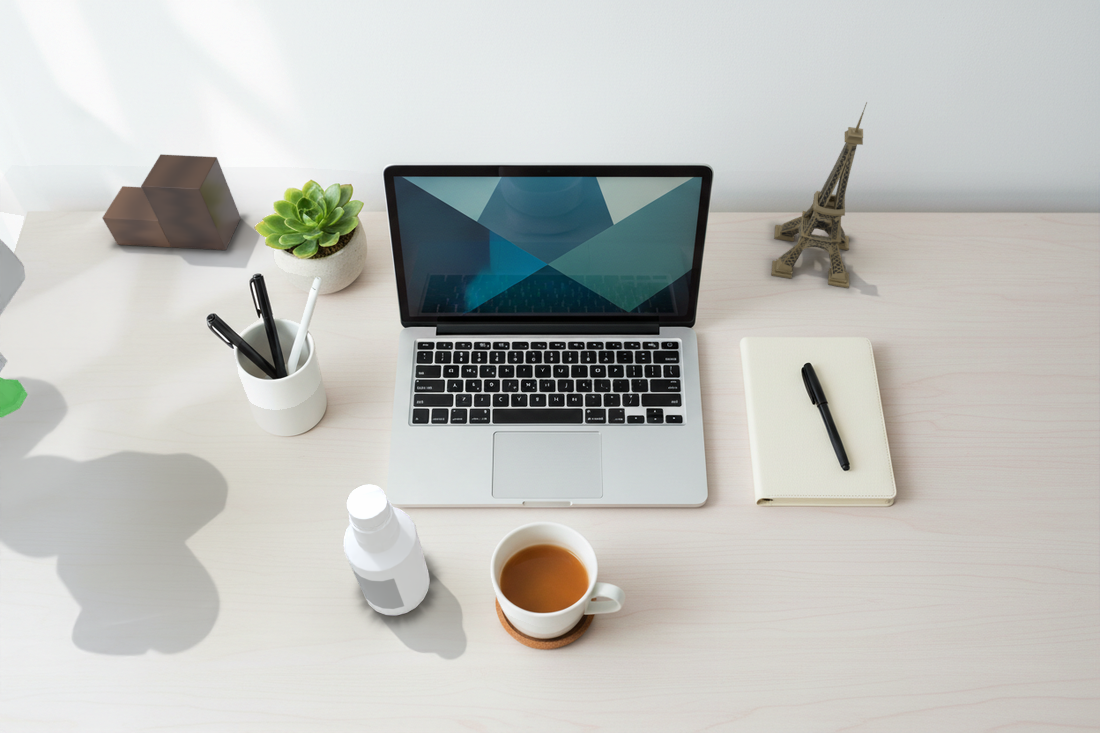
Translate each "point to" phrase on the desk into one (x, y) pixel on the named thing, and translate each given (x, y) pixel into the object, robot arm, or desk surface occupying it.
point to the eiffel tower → (823, 219)
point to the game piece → (11, 396)
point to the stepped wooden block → (176, 206)
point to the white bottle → (384, 552)
